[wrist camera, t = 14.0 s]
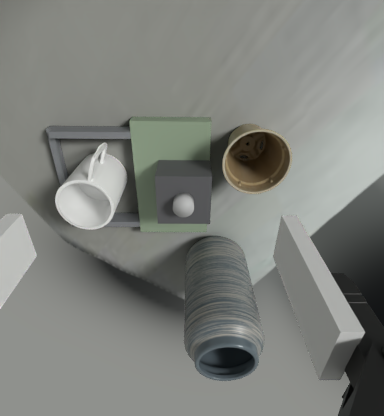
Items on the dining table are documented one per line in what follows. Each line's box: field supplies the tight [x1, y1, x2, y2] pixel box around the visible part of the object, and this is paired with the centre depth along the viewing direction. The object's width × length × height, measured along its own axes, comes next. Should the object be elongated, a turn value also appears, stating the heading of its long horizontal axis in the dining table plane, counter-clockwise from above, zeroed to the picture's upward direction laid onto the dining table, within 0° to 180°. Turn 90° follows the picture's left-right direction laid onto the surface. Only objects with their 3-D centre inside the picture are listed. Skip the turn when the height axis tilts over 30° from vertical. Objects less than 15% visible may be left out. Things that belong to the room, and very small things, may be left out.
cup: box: [55, 142, 127, 229], centre depth 44 cm, size 8×12×10 cm
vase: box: [184, 236, 265, 381], centre depth 48 cm, size 12×12×23 cm
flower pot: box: [222, 124, 292, 194], centre depth 42 cm, size 9×9×9 cm
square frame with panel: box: [46, 117, 212, 232], centre depth 44 cm, size 20×25×10 cm
